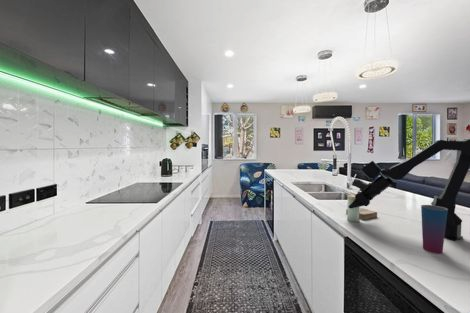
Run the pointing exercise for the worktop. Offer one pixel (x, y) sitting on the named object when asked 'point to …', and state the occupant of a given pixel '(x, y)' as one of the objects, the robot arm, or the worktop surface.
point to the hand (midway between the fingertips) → (350, 206)
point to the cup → (433, 227)
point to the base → (366, 213)
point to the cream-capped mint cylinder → (352, 210)
